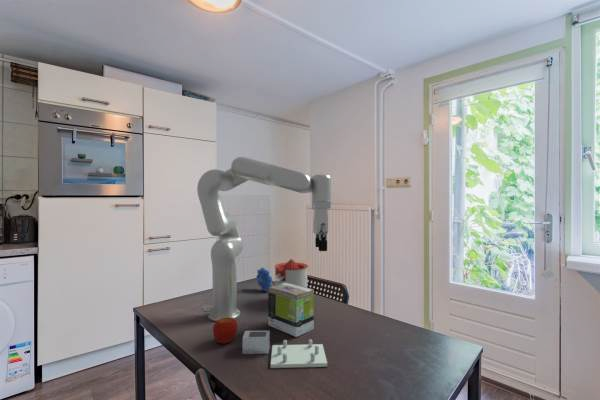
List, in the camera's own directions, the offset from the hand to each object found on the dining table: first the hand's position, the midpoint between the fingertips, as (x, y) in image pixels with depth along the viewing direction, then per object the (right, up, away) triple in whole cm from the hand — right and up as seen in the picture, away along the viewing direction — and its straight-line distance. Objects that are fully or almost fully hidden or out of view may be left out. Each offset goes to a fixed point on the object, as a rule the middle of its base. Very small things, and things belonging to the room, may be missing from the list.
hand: (321, 248), depth 115 cm
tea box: (-12, -28, -7) cm, 31 cm away
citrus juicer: (-13, -29, +20) cm, 37 cm away
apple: (-33, -28, -18) cm, 47 cm away
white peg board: (-9, -28, -28) cm, 40 cm away
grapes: (-28, -29, +37) cm, 55 cm away
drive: (-22, -28, -23) cm, 43 cm away
